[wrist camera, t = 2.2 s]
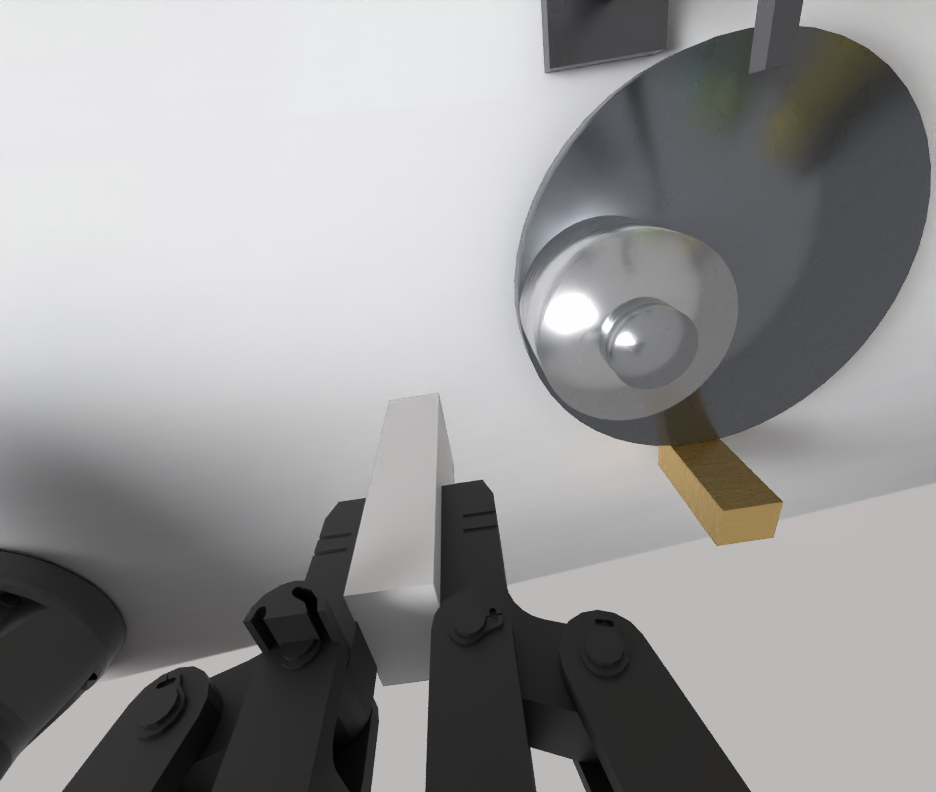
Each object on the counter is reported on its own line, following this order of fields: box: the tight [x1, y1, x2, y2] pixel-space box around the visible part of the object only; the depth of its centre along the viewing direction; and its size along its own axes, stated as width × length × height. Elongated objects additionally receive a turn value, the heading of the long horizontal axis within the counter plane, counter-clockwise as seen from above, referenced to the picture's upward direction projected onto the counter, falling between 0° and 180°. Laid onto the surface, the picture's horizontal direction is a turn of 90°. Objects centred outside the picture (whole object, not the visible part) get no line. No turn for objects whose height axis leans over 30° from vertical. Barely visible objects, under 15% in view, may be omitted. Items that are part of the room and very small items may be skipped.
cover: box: [519, 215, 738, 420], centre depth 19 cm, size 8×8×7 cm
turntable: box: [514, 26, 931, 546], centre depth 21 cm, size 20×22×7 cm
